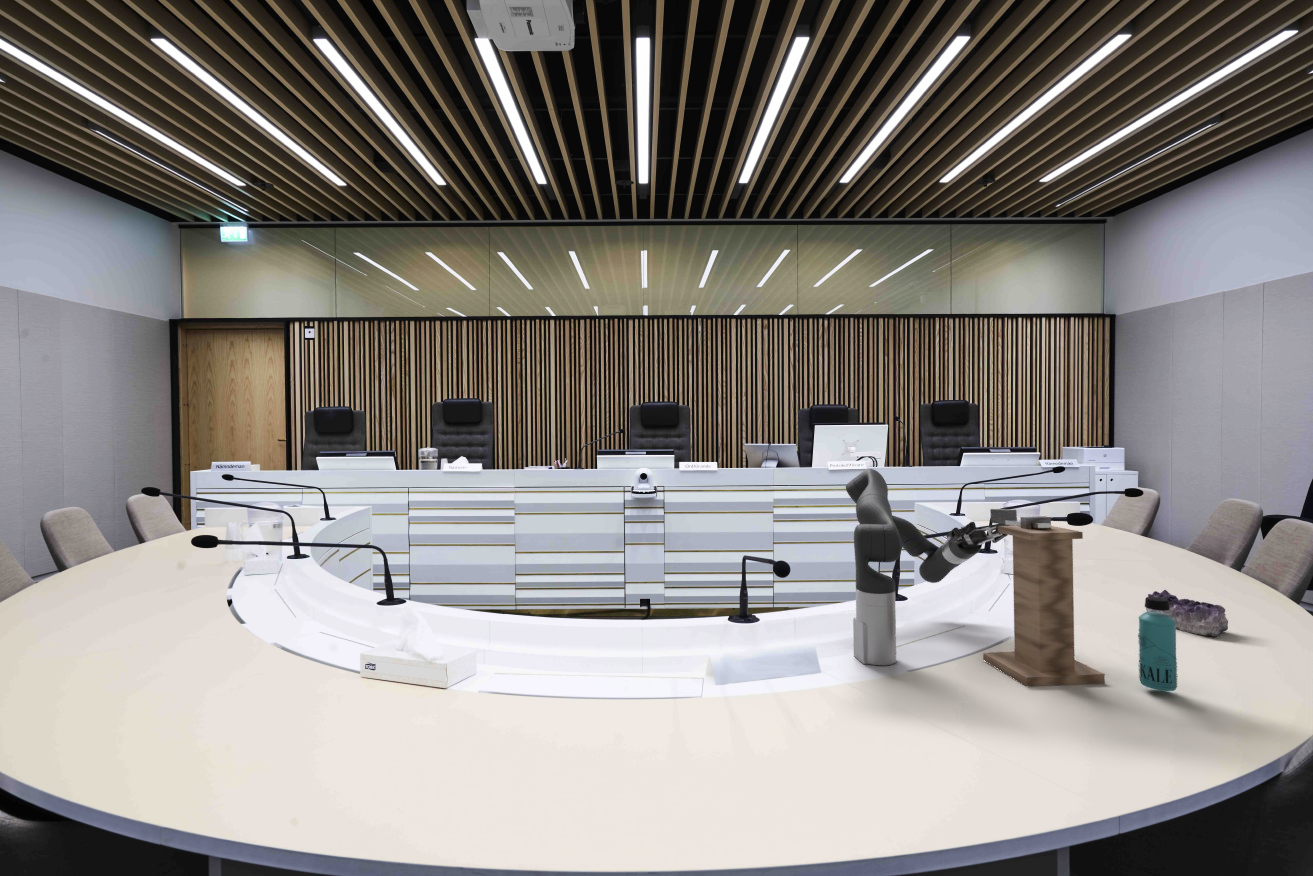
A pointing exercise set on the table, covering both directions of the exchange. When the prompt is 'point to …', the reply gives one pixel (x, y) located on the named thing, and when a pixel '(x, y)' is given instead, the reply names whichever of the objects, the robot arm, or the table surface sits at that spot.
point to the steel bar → (1011, 518)
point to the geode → (1194, 615)
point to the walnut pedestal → (1043, 609)
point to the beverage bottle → (1157, 647)
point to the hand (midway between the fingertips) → (989, 524)
